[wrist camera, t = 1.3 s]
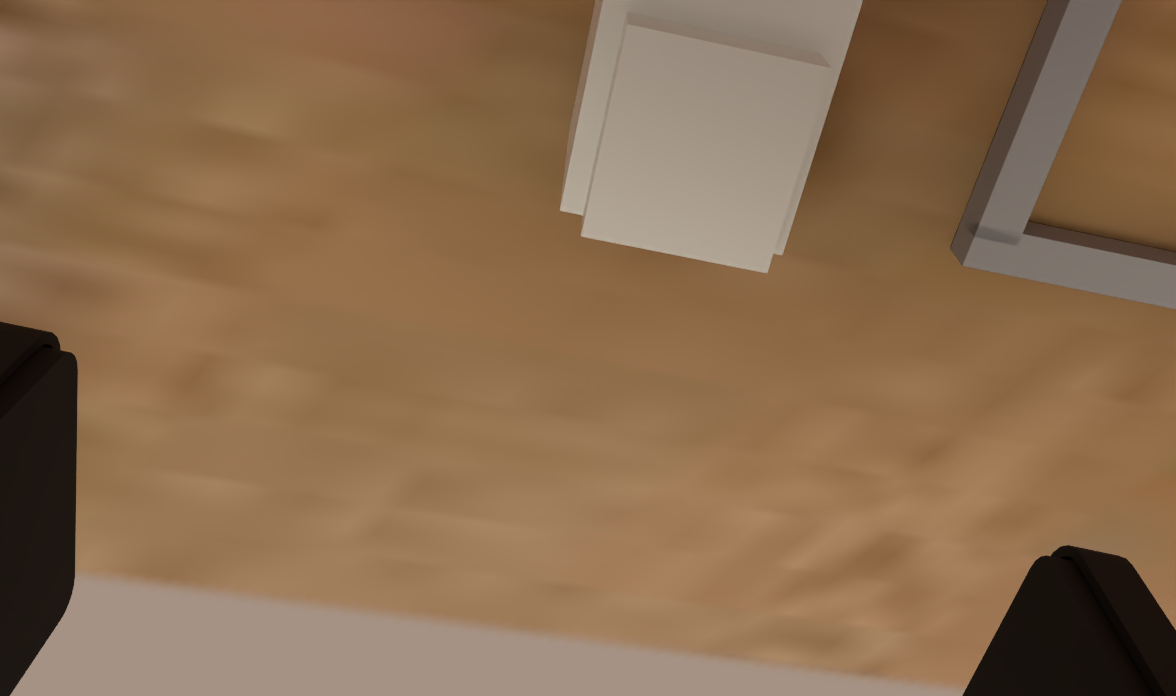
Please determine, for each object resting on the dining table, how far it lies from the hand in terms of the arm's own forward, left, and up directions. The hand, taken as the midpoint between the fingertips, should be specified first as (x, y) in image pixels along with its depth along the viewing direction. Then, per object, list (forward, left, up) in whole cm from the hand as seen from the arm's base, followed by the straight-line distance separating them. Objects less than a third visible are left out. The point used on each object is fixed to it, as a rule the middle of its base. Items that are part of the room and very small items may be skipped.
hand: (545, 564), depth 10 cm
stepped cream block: (-1, +2, -20) cm, 20 cm away
